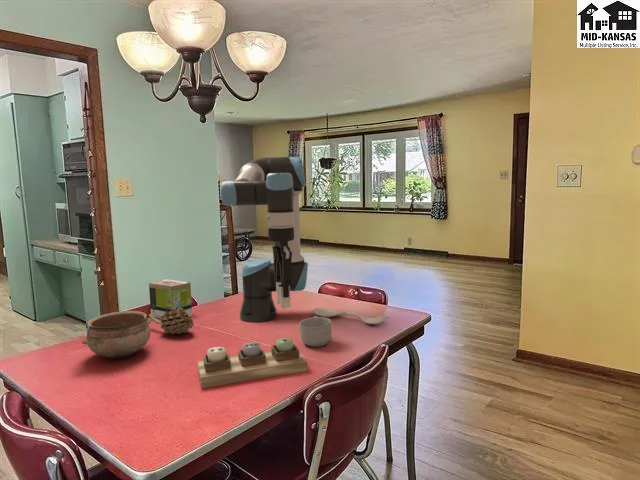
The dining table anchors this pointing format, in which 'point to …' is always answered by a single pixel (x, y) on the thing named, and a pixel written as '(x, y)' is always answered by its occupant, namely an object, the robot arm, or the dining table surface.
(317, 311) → the spoon
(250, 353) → the button three
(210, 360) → the button two
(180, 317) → the pine cone
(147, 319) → the cooking pot
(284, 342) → the button one
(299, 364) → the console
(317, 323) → the teacup
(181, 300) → the tea box
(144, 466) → the dining table surface
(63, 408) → the dining table surface
